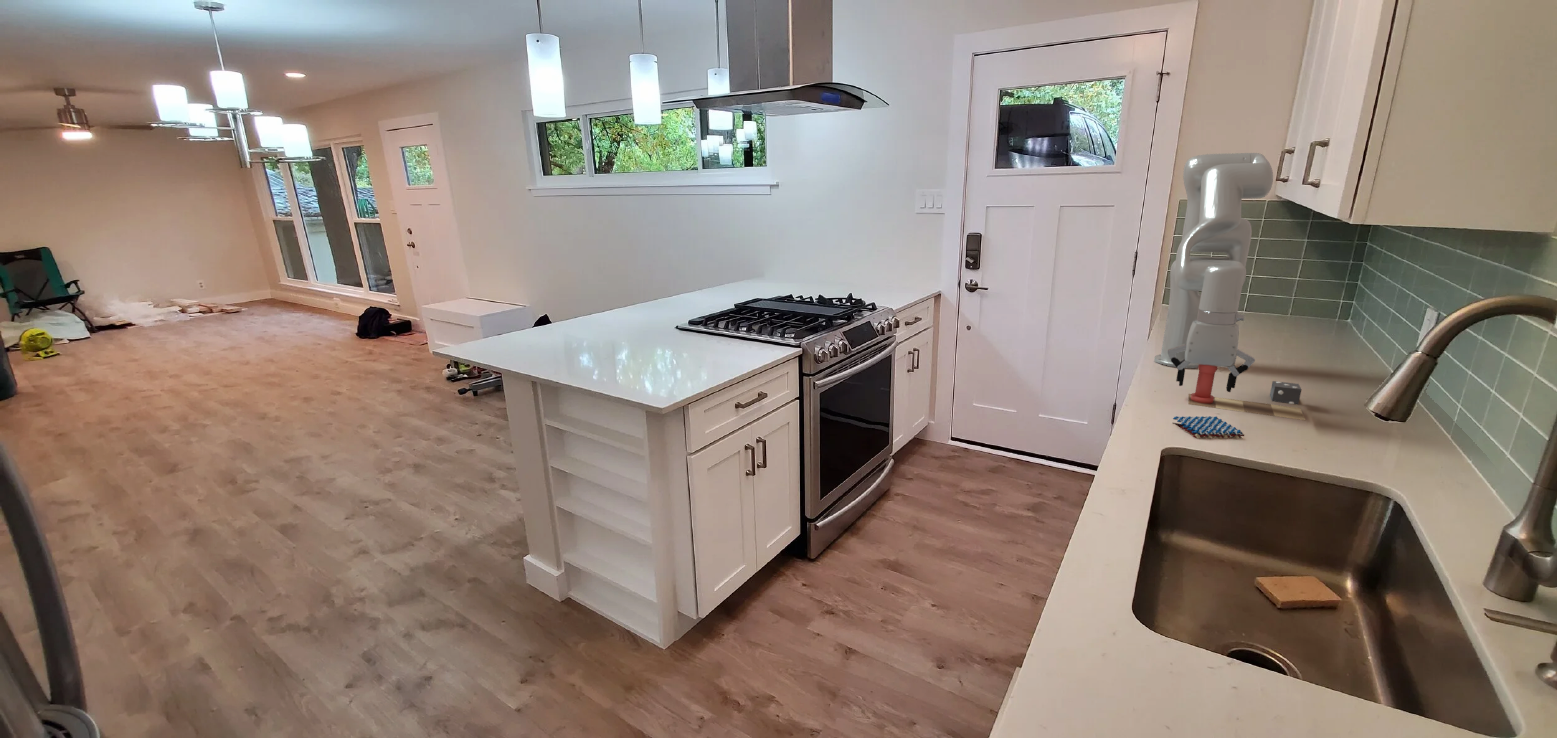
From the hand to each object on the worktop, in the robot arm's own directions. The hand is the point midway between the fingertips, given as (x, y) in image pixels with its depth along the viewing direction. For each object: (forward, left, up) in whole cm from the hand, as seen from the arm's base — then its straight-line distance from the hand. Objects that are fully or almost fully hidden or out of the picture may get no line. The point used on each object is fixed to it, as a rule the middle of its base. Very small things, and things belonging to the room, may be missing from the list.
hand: (1204, 387), depth 152 cm
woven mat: (+18, +1, -5) cm, 19 cm away
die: (-10, +17, -5) cm, 20 cm away
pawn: (0, 0, -3) cm, 3 cm away
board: (0, +8, -4) cm, 9 cm away
